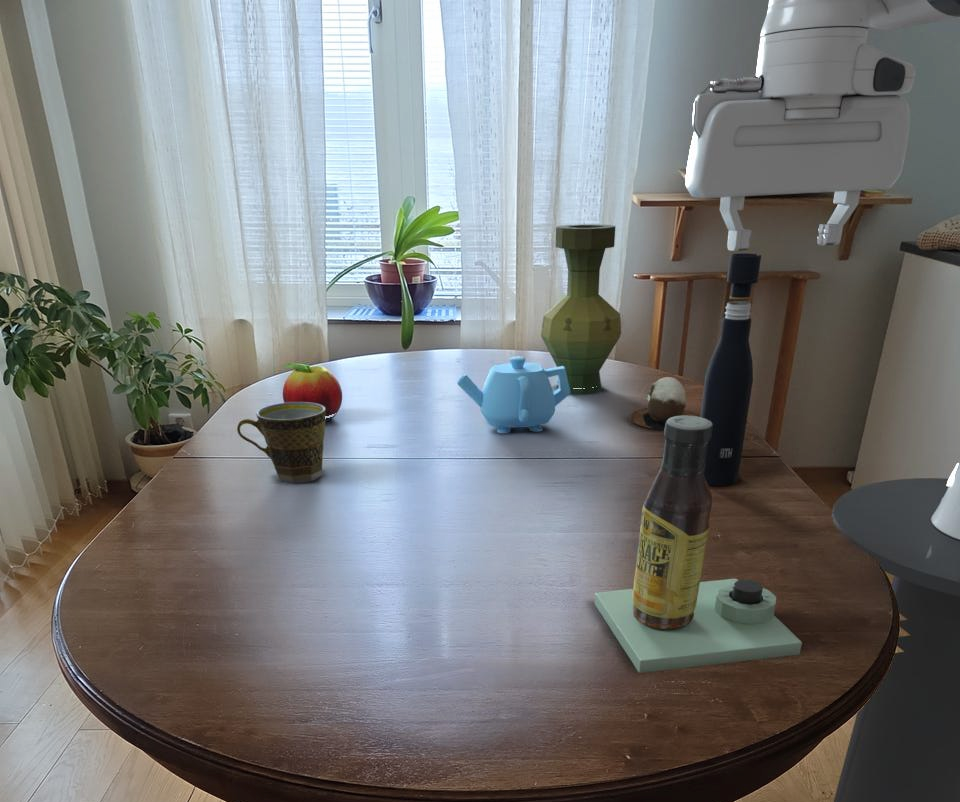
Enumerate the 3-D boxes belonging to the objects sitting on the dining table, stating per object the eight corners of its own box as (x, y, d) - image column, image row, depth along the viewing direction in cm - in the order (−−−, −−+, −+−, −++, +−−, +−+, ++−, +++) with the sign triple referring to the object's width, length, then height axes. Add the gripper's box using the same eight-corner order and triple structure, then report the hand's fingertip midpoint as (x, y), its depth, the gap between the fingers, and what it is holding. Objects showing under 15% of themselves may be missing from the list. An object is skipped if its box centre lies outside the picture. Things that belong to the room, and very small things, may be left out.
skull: (621, 405, 152) (662, 363, 148) (659, 442, 155) (700, 402, 151) (627, 421, 141) (672, 375, 137) (668, 460, 144) (713, 417, 140)
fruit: (322, 430, 145) (315, 372, 140) (273, 423, 149) (265, 367, 144) (355, 415, 154) (350, 360, 149) (308, 409, 158) (302, 356, 153)
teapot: (559, 411, 154) (561, 345, 148) (579, 436, 139) (582, 365, 133) (453, 416, 152) (451, 350, 146) (463, 442, 137) (461, 370, 131)
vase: (583, 375, 178) (590, 222, 163) (634, 389, 167) (647, 226, 152) (523, 387, 170) (525, 226, 155) (573, 402, 159) (580, 231, 144)
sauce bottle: (619, 609, 83) (635, 413, 73) (674, 599, 85) (697, 406, 74) (651, 639, 78) (672, 433, 67) (708, 628, 79) (738, 425, 69)
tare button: (752, 592, 83) (754, 578, 82) (765, 604, 81) (768, 590, 80) (726, 594, 83) (728, 580, 82) (738, 607, 80) (741, 593, 79)
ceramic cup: (327, 462, 130) (319, 399, 125) (338, 482, 121) (330, 415, 116) (243, 472, 126) (232, 407, 121) (249, 493, 118) (237, 424, 113)
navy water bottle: (711, 468, 124) (740, 251, 109) (746, 479, 119) (782, 254, 104) (683, 477, 121) (709, 254, 105) (718, 489, 116) (751, 258, 101)
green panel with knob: (737, 589, 89) (741, 564, 88) (803, 654, 77) (809, 627, 76) (594, 604, 87) (595, 578, 85) (639, 673, 75) (641, 645, 74)
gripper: (711, 74, 68) (695, 256, 75) (933, 68, 71) (897, 244, 78) (682, 81, 73) (669, 250, 80) (889, 75, 76) (859, 239, 83)
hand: (783, 247), depth 79 cm, fingers open, 8 cm apart
